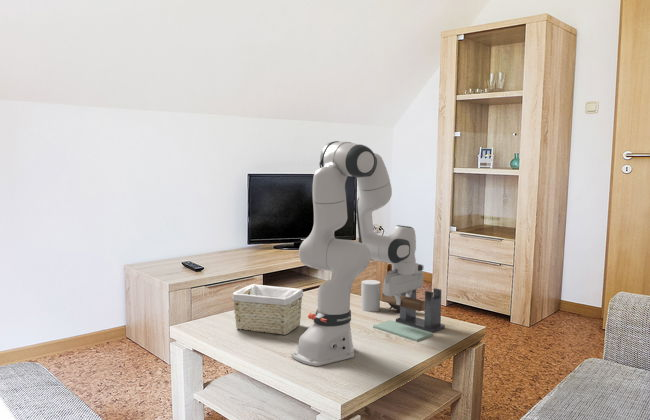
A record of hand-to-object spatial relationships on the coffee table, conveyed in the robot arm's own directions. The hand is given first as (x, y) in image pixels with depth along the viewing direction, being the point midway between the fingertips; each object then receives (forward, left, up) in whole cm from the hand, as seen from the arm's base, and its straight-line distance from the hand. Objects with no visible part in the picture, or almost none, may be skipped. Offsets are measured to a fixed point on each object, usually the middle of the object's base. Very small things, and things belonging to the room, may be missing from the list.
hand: (403, 303), depth 203 cm
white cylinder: (+13, +28, -11) cm, 33 cm away
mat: (0, 0, -11) cm, 11 cm away
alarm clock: (+19, +17, -11) cm, 28 cm away
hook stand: (+11, 0, -11) cm, 16 cm away
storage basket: (-34, +39, -11) cm, 53 cm away
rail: (0, 0, -1) cm, 1 cm away
